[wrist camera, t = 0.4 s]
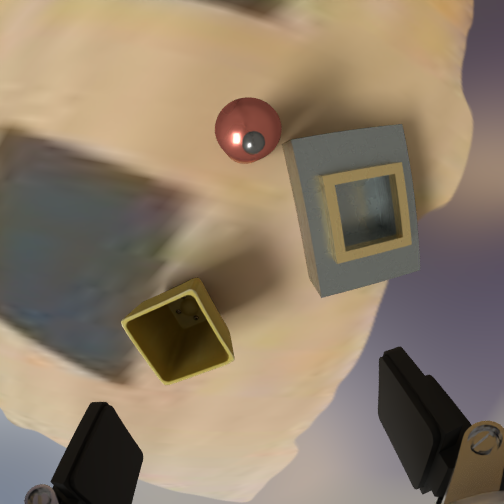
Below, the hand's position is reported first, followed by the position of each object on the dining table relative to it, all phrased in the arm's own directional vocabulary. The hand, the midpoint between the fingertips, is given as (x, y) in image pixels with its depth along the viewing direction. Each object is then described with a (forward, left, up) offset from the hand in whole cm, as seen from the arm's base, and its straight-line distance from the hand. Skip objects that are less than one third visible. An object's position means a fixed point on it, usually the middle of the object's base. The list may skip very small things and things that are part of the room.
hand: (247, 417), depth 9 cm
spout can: (-10, +3, -28) cm, 29 cm away
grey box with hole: (-1, +13, -28) cm, 30 cm away
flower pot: (+7, -8, -28) cm, 30 cm away
